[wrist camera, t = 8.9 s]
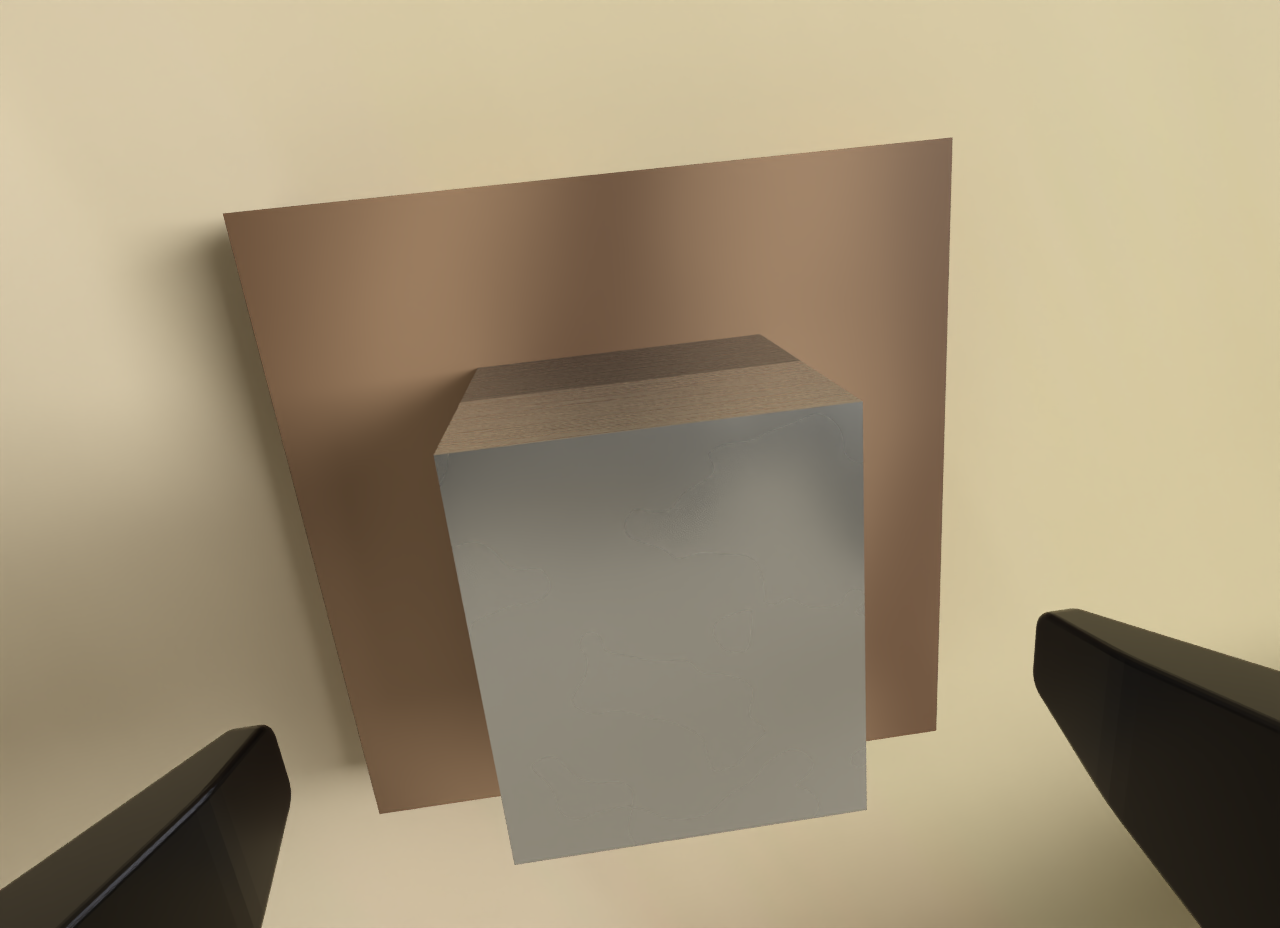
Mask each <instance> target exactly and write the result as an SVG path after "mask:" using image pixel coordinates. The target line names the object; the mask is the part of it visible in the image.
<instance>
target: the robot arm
mask: <svg viewBox="0 0 1280 928" xmlns="http://www.w3.org/2000/svg"><path fill="white" fill-rule="evenodd" d="M1033 676H1034V682H1035V685H1036V688H1037V690H1038V693H1039V694H1040V696H1041V698H1042V699H1043V701H1044V703H1045V704H1046V706H1047V708H1048V709H1049V711H1050V712H1051V714H1052V716H1053V717H1054V719H1055V721H1056V722H1057V724H1058V725H1059V727H1060V729H1061V730H1062V732H1063V733H1064V735H1065V737H1066V738H1067V740H1068V742H1069V743H1070V745H1071V746H1072V748H1073V750H1074V751H1075V753H1076V755H1077V756H1078V758H1079V759H1080V761H1081V763H1082V764H1083V766H1084V767H1085V769H1086V771H1087V772H1088V774H1089V776H1090V777H1091V779H1092V780H1093V782H1094V784H1095V785H1096V787H1097V788H1098V790H1099V791H1100V793H1101V794H1102V796H1103V797H1104V799H1105V800H1106V802H1107V803H1108V805H1109V806H1110V808H1111V809H1112V810H1113V812H1114V813H1115V814H1116V816H1117V817H1118V819H1119V820H1120V821H1121V823H1122V824H1123V825H1124V827H1125V828H1126V829H1127V831H1128V832H1129V833H1130V835H1131V836H1132V837H1133V839H1134V840H1135V841H1136V843H1137V844H1138V845H1139V846H1140V848H1141V849H1142V850H1143V852H1144V853H1145V854H1146V856H1147V857H1148V858H1149V860H1150V861H1151V862H1152V864H1153V865H1154V866H1155V867H1156V869H1157V870H1158V871H1159V873H1160V874H1161V875H1162V877H1163V878H1164V879H1165V881H1166V882H1167V883H1168V885H1169V886H1170V887H1171V888H1172V890H1173V891H1174V892H1175V894H1176V895H1177V896H1178V898H1179V899H1180V900H1181V902H1182V903H1183V904H1184V906H1185V907H1186V908H1187V909H1188V911H1189V912H1190V913H1191V915H1192V916H1193V917H1194V919H1195V920H1196V921H1197V923H1198V924H1199V925H1200V927H1201V928H1280V671H1277V670H1274V669H1271V668H1268V667H1264V666H1261V665H1258V664H1255V663H1252V662H1248V661H1245V660H1242V659H1239V658H1235V657H1232V656H1229V655H1226V654H1222V653H1219V652H1216V651H1213V650H1210V649H1206V648H1203V647H1200V646H1197V645H1193V644H1190V643H1187V642H1184V641H1180V640H1177V639H1174V638H1171V637H1168V636H1164V635H1161V634H1158V633H1155V632H1151V631H1148V630H1145V629H1142V628H1139V627H1135V626H1132V625H1129V624H1126V623H1122V622H1119V621H1116V620H1113V619H1109V618H1106V617H1103V616H1100V615H1097V614H1093V613H1090V612H1087V611H1084V610H1080V609H1065V610H1058V611H1051V612H1046V613H1044V614H1042V615H1041V616H1040V617H1039V619H1038V621H1037V626H1036V639H1035V652H1034V666H1033ZM290 801H291V788H290V782H289V779H288V775H287V772H286V769H285V765H284V762H283V759H282V756H281V752H280V749H279V746H278V742H277V739H276V736H275V734H274V732H273V731H272V729H271V728H270V727H268V726H266V725H257V726H250V727H243V728H236V729H232V730H229V731H227V732H226V733H224V734H223V735H221V736H220V737H219V738H217V739H216V740H214V741H213V742H211V743H210V744H209V745H207V746H206V747H204V748H203V749H201V750H200V751H199V752H197V753H196V754H194V755H193V756H191V757H190V758H189V759H187V760H186V761H184V762H183V763H181V764H180V765H179V766H177V767H176V768H174V769H173V770H171V771H170V772H169V773H167V774H166V775H164V776H163V777H161V778H160V779H159V780H157V781H156V782H154V783H153V784H151V785H150V786H149V787H147V788H146V789H144V790H143V791H141V792H140V793H139V794H137V795H136V796H134V797H133V798H131V799H130V800H129V801H127V802H126V803H124V804H123V805H121V806H120V807H119V808H117V809H116V810H114V811H113V812H111V813H110V814H109V815H107V816H106V817H104V818H103V819H101V820H100V821H99V822H97V823H96V824H94V825H93V826H91V827H90V828H89V829H87V830H86V831H84V832H83V833H81V834H80V835H79V836H77V837H76V838H74V839H73V840H71V841H70V842H69V843H67V844H66V845H64V846H63V847H61V848H60V849H59V850H57V851H56V852H54V853H53V854H51V855H50V856H49V857H47V858H46V859H44V860H43V861H41V862H40V863H39V864H37V865H36V866H34V867H33V868H31V869H30V870H29V871H27V872H26V873H24V874H23V875H21V876H20V877H19V878H17V879H16V880H14V881H13V882H11V883H10V884H9V885H7V886H6V887H4V888H3V889H1V890H0V928H261V927H262V923H263V919H264V915H265V911H266V907H267V902H268V898H269V894H270V889H271V885H272V881H273V877H274V872H275V868H276V864H277V859H278V855H279V851H280V846H281V842H282V838H283V834H284V829H285V825H286V821H287V816H288V812H289V808H290Z"/></svg>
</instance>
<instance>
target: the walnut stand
mask: <svg viewBox="0 0 1280 928" xmlns="http://www.w3.org/2000/svg"><path fill="white" fill-rule="evenodd" d="M951 172H952V138H943V139H934V140H924V141H914V142H905V143H895V144H886V145H876V146H866V147H857V148H847V149H838V150H828V151H819V152H809V153H799V154H790V155H780V156H771V157H761V158H751V159H742V160H732V161H723V162H713V163H703V164H694V165H684V166H675V167H665V168H655V169H646V170H636V171H627V172H617V173H608V174H598V175H588V176H579V177H569V178H560V179H550V180H540V181H531V182H521V183H512V184H502V185H492V186H483V187H473V188H464V189H454V190H445V191H435V192H425V193H416V194H406V195H397V196H387V197H377V198H368V199H358V200H349V201H339V202H329V203H320V204H310V205H301V206H291V207H282V208H272V209H262V210H253V211H243V212H234V213H224V214H223V216H224V220H225V224H226V227H227V231H228V235H229V239H230V243H231V247H232V250H233V254H234V258H235V262H236V266H237V269H238V273H239V277H240V281H241V285H242V289H243V292H244V296H245V300H246V304H247V308H248V312H249V315H250V319H251V323H252V327H253V331H254V335H255V338H256V342H257V346H258V350H259V354H260V358H261V361H262V365H263V369H264V373H265V377H266V381H267V384H268V388H269V392H270V396H271V400H272V404H273V407H274V411H275V415H276V419H277V423H278V427H279V430H280V434H281V438H282V442H283V446H284V450H285V453H286V457H287V461H288V465H289V469H290V472H291V476H292V480H293V484H294V488H295V492H296V495H297V499H298V503H299V507H300V511H301V515H302V518H303V522H304V526H305V530H306V534H307V538H308V541H309V545H310V549H311V553H312V557H313V561H314V564H315V568H316V572H317V576H318V580H319V584H320V587H321V591H322V595H323V599H324V603H325V607H326V610H327V614H328V618H329V622H330V626H331V630H332V633H333V637H334V641H335V645H336V649H337V652H338V656H339V660H340V664H341V668H342V672H343V675H344V679H345V683H346V687H347V691H348V695H349V698H350V702H351V706H352V710H353V714H354V718H355V721H356V725H357V729H358V733H359V737H360V741H361V744H362V748H363V752H364V756H365V760H366V764H367V767H368V771H369V775H370V779H371V783H372V787H373V790H374V794H375V798H376V802H377V806H378V810H379V813H380V814H382V813H389V812H396V811H402V810H409V809H416V808H422V807H429V806H436V805H442V804H449V803H456V802H463V801H469V800H476V799H483V798H489V797H496V796H501V793H500V788H499V783H498V778H497V773H496V768H495V763H494V758H493V753H492V748H491V743H490V738H489V733H488V728H487V723H486V718H485V713H484V708H483V702H482V697H481V692H480V687H479V682H478V677H477V672H476V667H475V662H474V657H473V652H472V647H471V642H470V637H469V632H468V627H467V622H466V617H465V612H464V607H463V602H462V596H461V591H460V586H459V581H458V576H457V571H456V566H455V561H454V556H453V551H452V546H451V541H450V536H449V531H448V526H447V521H446V516H445V511H444V506H443V501H442V496H441V491H440V485H439V480H438V475H437V470H436V465H435V460H434V453H435V451H436V449H437V447H438V445H439V443H440V441H441V439H442V437H443V436H444V434H445V432H446V430H447V428H448V426H449V424H450V422H451V420H452V418H453V416H454V414H455V412H456V410H457V408H458V406H459V404H460V402H461V400H462V398H463V396H464V394H465V392H466V390H467V388H468V386H469V384H470V382H471V380H472V378H473V376H474V374H475V372H476V370H477V369H478V368H480V367H488V366H497V365H505V364H513V363H522V362H530V361H539V360H547V359H555V358H564V357H572V356H580V355H589V354H597V353H606V352H614V351H622V350H631V349H639V348H647V347H656V346H664V345H673V344H681V343H689V342H698V341H706V340H714V339H723V338H731V337H740V336H748V335H756V334H761V335H762V336H764V337H765V338H767V339H768V340H770V341H771V342H773V343H775V344H776V345H778V346H779V347H781V348H782V349H784V350H785V351H787V352H788V353H790V354H791V355H793V356H794V357H796V358H797V359H799V360H800V361H802V362H803V363H805V364H807V365H808V366H810V367H811V368H813V369H814V370H816V371H817V372H819V373H820V374H822V375H823V376H825V377H826V378H828V379H829V380H831V381H832V382H834V383H835V384H837V385H839V386H840V387H842V388H843V389H845V390H846V391H848V392H849V393H851V394H852V395H854V396H855V397H857V398H858V399H860V400H861V401H863V481H864V586H865V692H866V741H870V740H877V739H883V738H890V737H897V736H903V735H910V734H917V733H923V732H930V731H936V717H937V681H938V644H939V608H940V572H941V535H942V499H943V463H944V426H945V390H946V353H947V317H948V281H949V244H950V208H951Z"/></svg>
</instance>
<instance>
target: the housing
mask: <svg viewBox="0 0 1280 928" xmlns="http://www.w3.org/2000/svg"><path fill="white" fill-rule="evenodd" d="M434 460H435V465H436V470H437V475H438V480H439V485H440V491H441V496H442V501H443V506H444V511H445V516H446V521H447V526H448V531H449V536H450V541H451V546H452V551H453V556H454V561H455V566H456V571H457V576H458V581H459V586H460V591H461V596H462V602H463V607H464V612H465V617H466V622H467V627H468V632H469V637H470V642H471V647H472V652H473V657H474V662H475V667H476V672H477V677H478V682H479V687H480V692H481V697H482V702H483V708H484V713H485V718H486V723H487V728H488V733H489V738H490V743H491V748H492V753H493V758H494V763H495V768H496V773H497V778H498V783H499V788H500V793H501V798H502V803H503V808H504V813H505V819H506V824H507V829H508V834H509V839H510V844H511V849H512V854H513V859H514V864H515V865H517V864H523V863H530V862H536V861H543V860H549V859H555V858H562V857H568V856H575V855H581V854H587V853H594V852H600V851H606V850H613V849H619V848H626V847H632V846H638V845H645V844H651V843H658V842H664V841H670V840H677V839H683V838H690V837H696V836H702V835H709V834H715V833H722V832H728V831H734V830H741V829H747V828H754V827H760V826H766V825H773V824H779V823H786V822H792V821H798V820H805V819H811V818H818V817H824V816H830V815H837V814H843V813H850V812H856V811H862V810H867V797H866V692H865V586H864V481H863V401H861V400H860V399H858V398H857V397H855V396H854V395H852V394H851V393H849V392H848V391H846V390H845V389H843V388H842V387H840V386H839V385H837V384H835V383H834V382H832V381H831V380H829V379H828V378H826V377H825V376H823V375H822V374H820V373H819V372H817V371H816V370H814V369H813V368H811V367H810V366H808V365H807V364H805V363H803V362H802V361H800V360H799V359H797V358H796V357H794V356H793V355H791V354H790V353H788V352H787V351H785V350H784V349H782V348H781V347H779V346H778V345H776V344H775V343H773V342H771V341H770V340H768V339H767V338H765V337H764V336H762V335H761V334H756V335H748V336H740V337H731V338H723V339H714V340H706V341H698V342H689V343H681V344H673V345H664V346H656V347H647V348H639V349H631V350H622V351H614V352H606V353H597V354H589V355H580V356H572V357H564V358H555V359H547V360H539V361H530V362H522V363H513V364H505V365H497V366H488V367H480V368H478V369H477V370H476V372H475V374H474V376H473V378H472V380H471V382H470V384H469V386H468V388H467V390H466V392H465V394H464V396H463V398H462V400H461V402H460V404H459V406H458V408H457V410H456V412H455V414H454V416H453V418H452V420H451V422H450V424H449V426H448V428H447V430H446V432H445V434H444V436H443V437H442V439H441V441H440V443H439V445H438V447H437V449H436V451H435V453H434Z"/></svg>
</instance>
